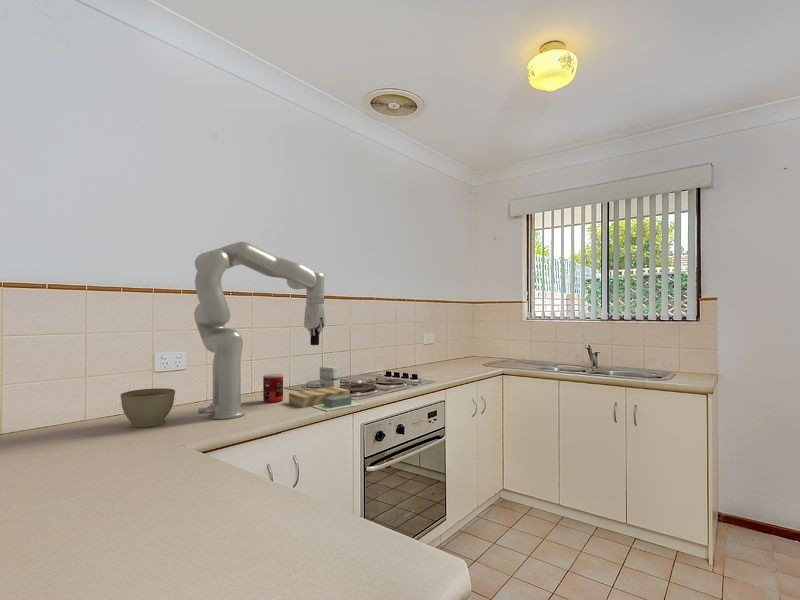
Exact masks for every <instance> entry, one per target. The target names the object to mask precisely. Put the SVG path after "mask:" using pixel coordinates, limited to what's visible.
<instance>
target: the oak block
mask: <svg viewBox="0 0 800 600" xmlns="http://www.w3.org/2000/svg"><path fill="white" fill-rule="evenodd" d="M339 395H346V396H350V397H351V390H349V389H346V388H342V387H340V388H337V387H329V388H322V389H320V388H316V389H311V390H310V389H309V390H303V391H295V392H290V393H288V404H291V405H293V406H297V407H301V408H309V407H310V408H311V407H312V406H316V405H321V404H324V398H326V397H332V396H339Z"/></svg>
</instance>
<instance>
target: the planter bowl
mask: <svg viewBox="0 0 800 600" xmlns="http://www.w3.org/2000/svg"><path fill="white" fill-rule="evenodd" d="M175 395H176V389H173V388H158V387H157V388H142V389H134V390H130V391H129V390H128V391H124V392H122V393H120V399H121V401H120V402H121V403H120V404H121V408H122V410H123V414H124V415H125V417H126V419H128V421H130V424H131V427H134V428H149V427H148V426H150V427H155V425H156V426H160V425H162V424H164V423H165V419H166V417H168V415H169V414H170V412H171V410H172V408H173V405H174V403H175Z"/></svg>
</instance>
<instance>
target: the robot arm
mask: <svg viewBox="0 0 800 600" xmlns="http://www.w3.org/2000/svg"><path fill="white" fill-rule="evenodd" d="M240 265H241V266H245V267H246V268H248V269H251V270H253V271H255V272H257V273H260V275H263V276H266V277H271V278H277V279H278V278H279V279H285V280H286V284H287V285H288V287H290V288H291V289H293V290H305V291H306V292H305V294H306V295H305V297H306V298H305V299H306V300H305V308H304V317H303V320H304V321H303V327H304V328H305V329H307V331H308V332H309V336H310V342H309V343H310V345H311V346H319V345H320V335H321V332H323V328H325V327H326V326H325V325H326V323H325V322H326V315H325V275H324V273H322V272H313V270H311V269H309V268H307V267H305V266H304V265H301V264H300V263H297V262H294V261H291V260H288V259H285V258H282V257H278V256H277V255H274V254H272V253H269V252H268V251H265V250H264V249H262V248H259V247H257V246H255V245H254V244H251V243H250V242H246V241H238V242H234V243H231V244H228V245H224V246H221V247H219V248H215V249H211V250H209V251H205V252H201V253H200V254H198V255H197V256H196V258H195V260H194V266H195V269H196V274H195V277H194V278H195V279H194V287H195V290H196V291H195V292H196V295H197V298H198V301H199V303H198V304H197V305H196V306H195V309H194V315H193V316H194V321H195V324H196V327H197V330H198V333H199V335H200V338H201V340H202V343H203V345H204V347H205V349H206V350H208V351H209V352H211V353H214V356H213V360H212V402H211V403H209V405H207V407H199V408H197V412H198V414H204V415H205V414H207V418H209V419H212V420H230V419H235V418H239V417H242V416H244V415H246V410H245V409H243V408H242V407H241V397H242V396H241V388H242V385H241V383H242V379H241V378H242V377H241V376H242V375H241V372H242V371H241V367H242V366H241V361H242V360H241V359H242V353H243V346H244V344H243V343H244V341H243V337H242V335H241V334H240V332H239V331H238V330H236V329H233V328H231V327H230V328H228V327H225V325H226V324H227V323H228V322H229V321H230V319H231V311H230V308H229V305H228V303H227V298H226V296H225V293H224V291H223V286H222V279H223V278H222V277H223V275H224V273H225V272H226V271H227V270H228V269H230V268H233V267H236V266H240Z"/></svg>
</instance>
